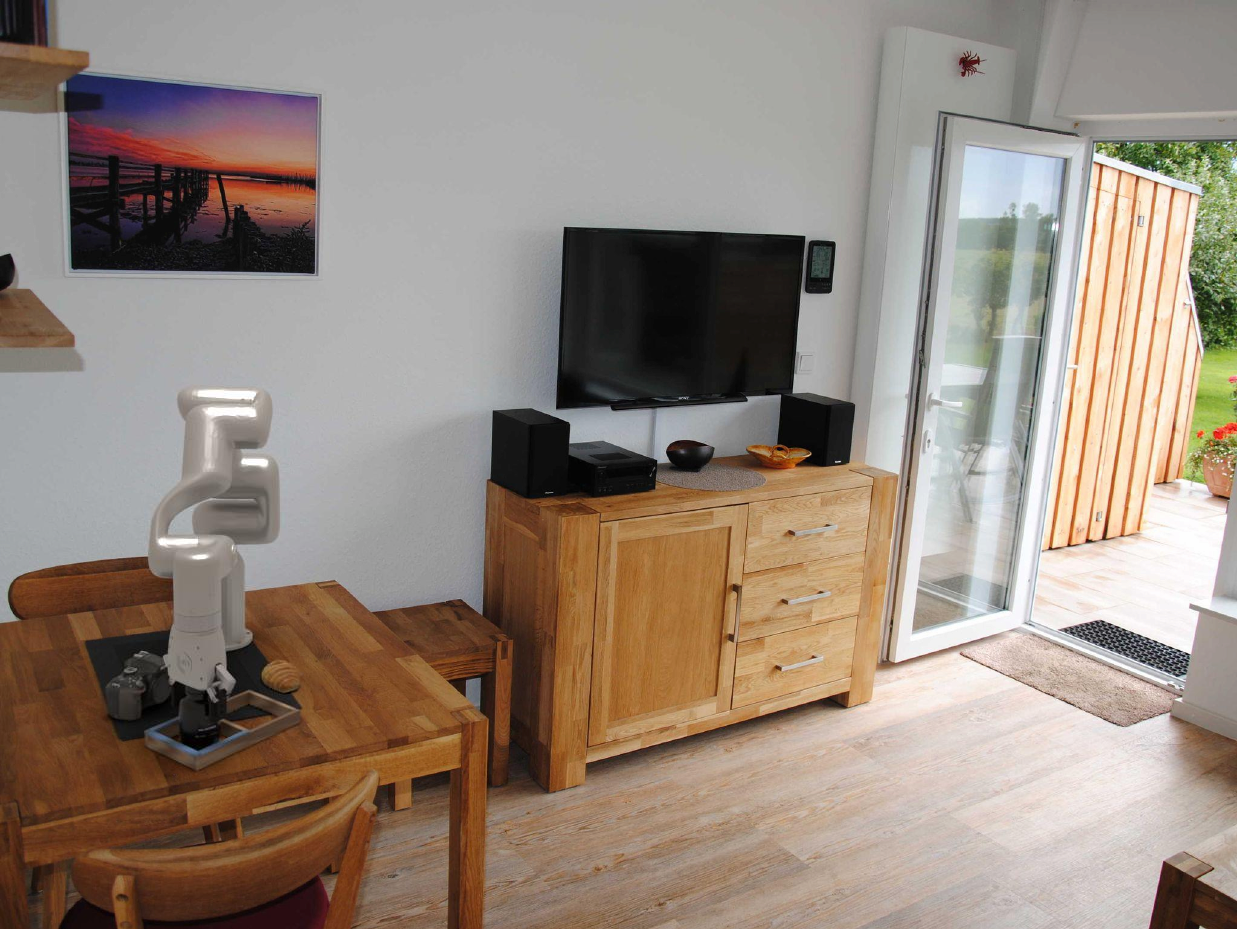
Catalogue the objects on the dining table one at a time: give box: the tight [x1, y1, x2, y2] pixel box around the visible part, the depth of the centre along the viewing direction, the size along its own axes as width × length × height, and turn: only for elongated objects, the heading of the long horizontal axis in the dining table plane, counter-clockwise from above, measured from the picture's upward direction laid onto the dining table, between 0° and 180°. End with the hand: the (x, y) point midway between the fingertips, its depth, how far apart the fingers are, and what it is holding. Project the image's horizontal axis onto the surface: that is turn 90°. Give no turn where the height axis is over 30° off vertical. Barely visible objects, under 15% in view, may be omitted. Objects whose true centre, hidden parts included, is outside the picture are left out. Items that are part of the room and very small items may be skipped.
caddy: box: [143, 689, 301, 771], centre depth 186 cm, size 14×22×3 cm, turn 150°
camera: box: [104, 650, 172, 722], centre depth 194 cm, size 13×10×10 cm
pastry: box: [261, 659, 301, 694], centre depth 207 cm, size 9×7×4 cm
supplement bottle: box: [178, 681, 222, 751], centre depth 181 cm, size 7×7×12 cm
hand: (199, 712), depth 181 cm, fingers open, 9 cm apart
